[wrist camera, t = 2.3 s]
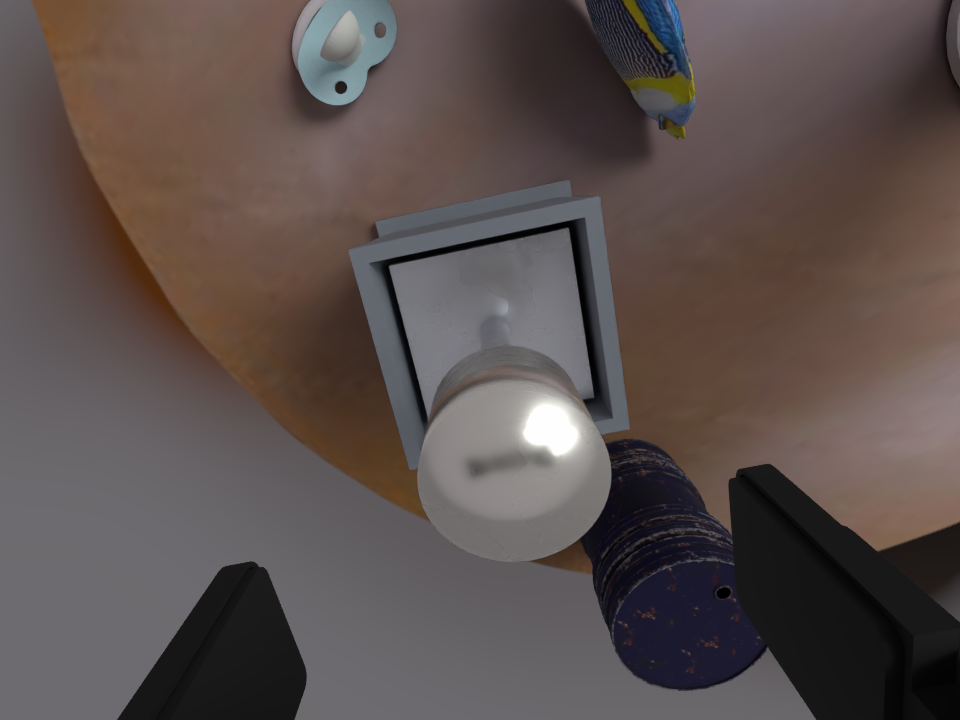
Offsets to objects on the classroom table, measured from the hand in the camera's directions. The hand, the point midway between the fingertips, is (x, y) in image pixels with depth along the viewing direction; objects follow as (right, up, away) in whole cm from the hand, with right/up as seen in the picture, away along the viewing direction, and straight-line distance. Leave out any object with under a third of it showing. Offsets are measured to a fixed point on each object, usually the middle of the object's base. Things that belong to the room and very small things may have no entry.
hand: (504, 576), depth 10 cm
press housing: (0, +9, +29) cm, 30 cm away
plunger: (0, +6, +18) cm, 19 cm away
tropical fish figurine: (+8, +26, +24) cm, 36 cm away
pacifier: (-10, +25, +24) cm, 36 cm away
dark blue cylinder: (+12, -7, +34) cm, 37 cm away
